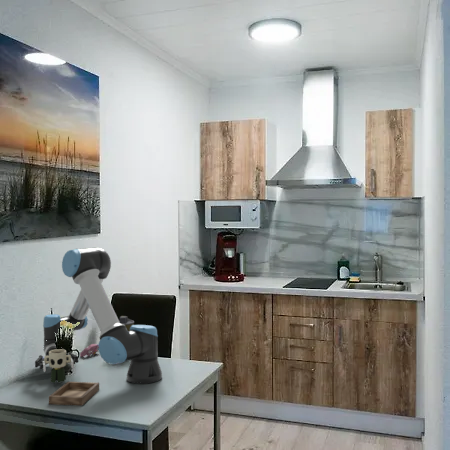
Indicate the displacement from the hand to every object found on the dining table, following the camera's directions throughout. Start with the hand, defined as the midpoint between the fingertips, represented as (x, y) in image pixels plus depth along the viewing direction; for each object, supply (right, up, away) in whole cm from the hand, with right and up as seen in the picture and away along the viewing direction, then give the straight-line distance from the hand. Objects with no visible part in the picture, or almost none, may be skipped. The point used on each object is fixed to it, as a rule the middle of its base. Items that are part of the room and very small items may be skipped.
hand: (58, 366), depth 220 cm
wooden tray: (+10, -9, -10) cm, 17 cm away
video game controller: (+1, -8, +49) cm, 49 cm away
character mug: (-1, -8, +4) cm, 9 cm away
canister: (+18, -7, +47) cm, 51 cm away
